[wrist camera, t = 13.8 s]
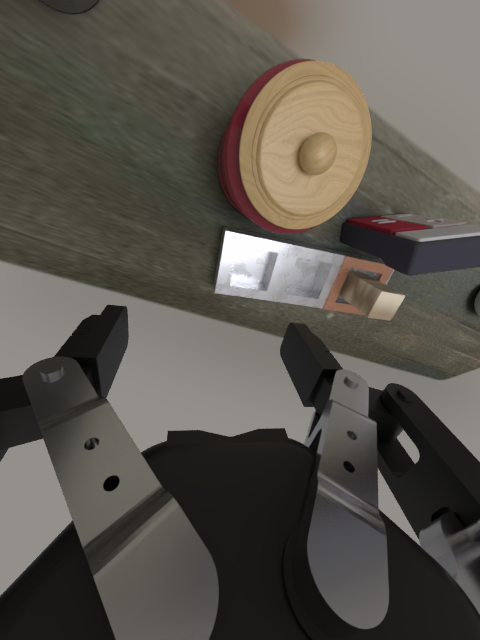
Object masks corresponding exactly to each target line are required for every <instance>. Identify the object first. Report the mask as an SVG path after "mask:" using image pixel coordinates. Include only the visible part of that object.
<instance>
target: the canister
mask: <svg viewBox="0 0 480 640" xmlns="http://www.w3.org/2000/svg"><path fill="white" fill-rule="evenodd" d="M371 138H372V129H371V119H370V113H369V109H368V105H367V102H366V100H365V97H364V95H363V93H362V91H361V89H360V88H359V86H358V85H357V83H356V82H355V80H354V79H353V78H352V77H351V76H350V75H349V74H348V73H347V72H345V71H344V70H343V69H341V68H340V67H338V66H336V65H333V64H331V63H328V62H324V61H316V60H311V59H294V60H289V61H286V62H283V63H280V64H278V65H276V66H274V67H272V68H270V69H269V70H267V71H266V72H265V73H263V74H262V75H261V76H260V77H259V78H257V79H256V80H255V81H254V83H253V84H252V85H251V86H250V87H249V88H248V90H247V91H246V92H245V94H244V95H243V97H242V99H241V100H240V102H239V104H238V106H237V108H236V110H235V112H234V114H233V116H232V118H231V120H230V122H229V125H228V127H227V128H226V131H225V133H224V135H223V138H222V141H221V144H220V148H219V155H218V172H219V178H220V182H221V186H222V188H223V191H224V193H225V195H226V197H227V199H228V200H229V202H230V203H231V204H232V205H233V207H234V208H235V209H236V210H238V211H239V212H240V213H241V214H243V215H244V216H246V217H248V218H249V219H250V220H252V221H253V222H254V223H255V224H257V225H258V226H260V227H262V228H263V229H266V230H268V231H271V232H274V233H279V234H295V233H300V232H304V231H307V230H309V229H312V228H314V227H316V226H317V225H319V224H321V223H323V222H325V221H327V220H328V219H330V218H331V217H333V216H334V215H335V214H336V213H338V212H339V211H340V210H341V209H342V208H343V207H344V206H345V205H346V203H347V202H348V201H349V200H350V198H351V197H352V196H353V194H354V193H355V191H356V189H357V188H358V186H359V184H360V182H361V180H362V177H363V175H364V172H365V170H366V167H367V163H368V159H369V155H370V149H371Z"/></svg>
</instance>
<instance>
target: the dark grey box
mask: <svg viewBox="0 0 480 640" xmlns="http://www.w3.org/2000/svg"><path fill="white" fill-rule="evenodd" d="M466 223H467V222H463V221H456V220H449V219H442V218H431V217H428V216H421V215H414V214H396V215H385V216H380V217H364V218H354V219H348V222H346V223H344V224H343V229H342V236H341V242H342V243H345V244H347V245H349V246H352V247H354V248H357V249H359V250H362V251H364V252H366V253H369V254H371V255H374V256H376V257H378V258H381V259H382V260H383V262H384V263H385V265H386V266H387V267H390V268H392V269H394V270H397V271H399V272H401V273H403V274H406V275H419V274H427V273H435V272H443V271H451V270H459V269H467V268H475V267H480V226H478V225H466Z"/></svg>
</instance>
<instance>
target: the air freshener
mask: <svg viewBox="0 0 480 640" xmlns="http://www.w3.org/2000/svg"><path fill="white" fill-rule="evenodd" d="M474 307H475V311H476V313H477V315H478V316H479V317H480V291H479V292H478V294H477V296H476V299H475V304H474Z"/></svg>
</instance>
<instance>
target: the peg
mask: <svg viewBox="0 0 480 640" xmlns="http://www.w3.org/2000/svg"><path fill="white" fill-rule="evenodd" d="M339 295H340V296H341V297H343V298H344V299H345V300H346V301H348V302H349V303H350V304H352V305H353V306H354V307H355V308H357V309H358V310H359V311H360V312H362V313H363V314H364V315H365V316H367V317H370V318H376V319H383V320H390V321H391V319H392V317H393V316H394V314H395V312H396V311H397V309H398V307H399V306H400V304H401V303H402V301H403V299H404V298H405V295H404V294H402V293H400V292H398V291H396V290H394V289H393V288H391V287H389V286H387V285H385V284H383V283H381V282H380V281H378V280H376V279H374V278H372V277H370V276H369V275H367V274H365V273H363V272H360V271H355V270H350V271H349V273H348V275H347V277H346V279H345V282H344V284H343V286H342V288H341V290H340V293H339Z"/></svg>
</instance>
